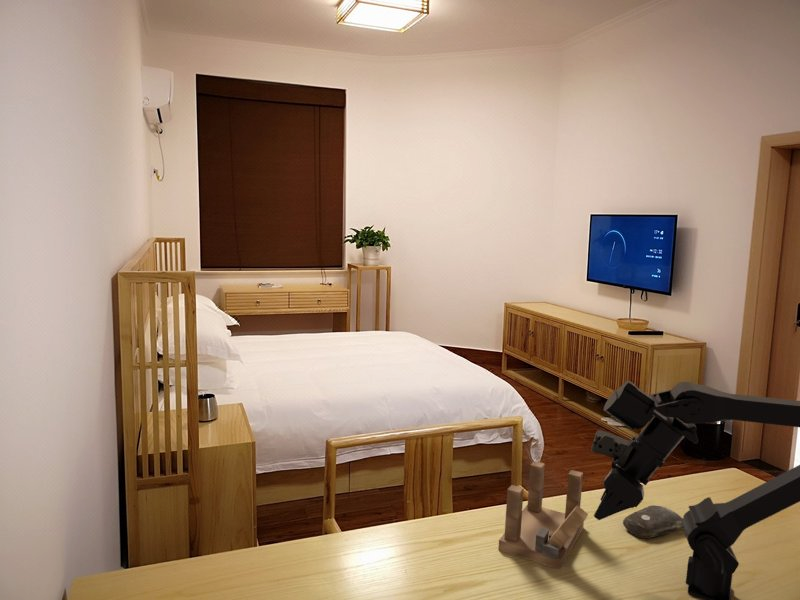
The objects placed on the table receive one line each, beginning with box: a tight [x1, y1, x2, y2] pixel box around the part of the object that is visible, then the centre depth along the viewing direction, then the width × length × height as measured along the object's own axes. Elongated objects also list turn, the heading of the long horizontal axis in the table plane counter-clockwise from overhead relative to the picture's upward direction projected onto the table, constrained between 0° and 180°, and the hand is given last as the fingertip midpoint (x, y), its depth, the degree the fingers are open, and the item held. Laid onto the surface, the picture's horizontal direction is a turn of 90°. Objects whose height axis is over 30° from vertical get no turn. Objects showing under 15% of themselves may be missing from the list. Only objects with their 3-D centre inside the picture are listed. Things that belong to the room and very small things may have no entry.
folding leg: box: [547, 505, 589, 550], centre depth 110 cm, size 2×3×10 cm
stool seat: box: [497, 460, 585, 570], centre depth 119 cm, size 12×19×12 cm, turn 150°
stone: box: [622, 504, 684, 539], centre depth 126 cm, size 14×4×10 cm
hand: (599, 509), depth 108 cm, fingers open, 9 cm apart
